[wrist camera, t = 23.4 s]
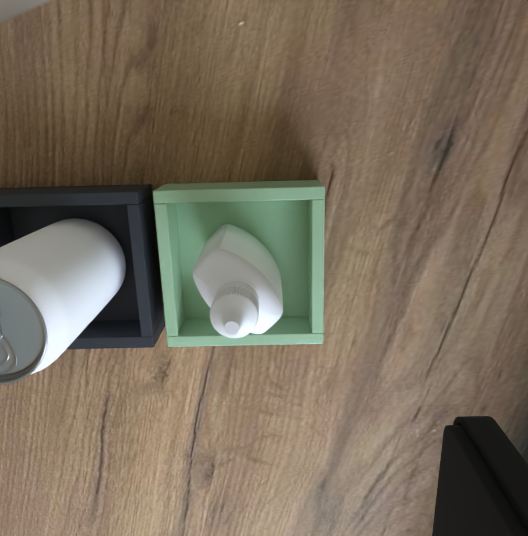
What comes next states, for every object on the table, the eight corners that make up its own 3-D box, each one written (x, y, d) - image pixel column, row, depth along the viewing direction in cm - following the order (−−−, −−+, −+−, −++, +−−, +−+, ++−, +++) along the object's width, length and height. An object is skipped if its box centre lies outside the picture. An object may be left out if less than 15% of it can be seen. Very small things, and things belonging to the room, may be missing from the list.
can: (46, 306, 35) (-65, 396, 23) (28, 219, 33) (-101, 270, 21) (133, 302, 34) (67, 390, 23) (121, 214, 33) (41, 262, 21)
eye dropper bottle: (262, 211, 32) (259, 259, 21) (284, 286, 34) (293, 368, 23) (202, 229, 33) (166, 285, 21) (226, 302, 34) (206, 390, 23)
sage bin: (164, 183, 33) (152, 190, 29) (318, 179, 32) (324, 186, 29) (176, 325, 36) (167, 347, 32) (318, 322, 35) (323, 344, 32)
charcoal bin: (-1, 188, 33) (-33, 195, 29) (151, 184, 33) (137, 191, 29) (25, 329, 36) (-1, 350, 32) (165, 326, 36) (154, 347, 32)
